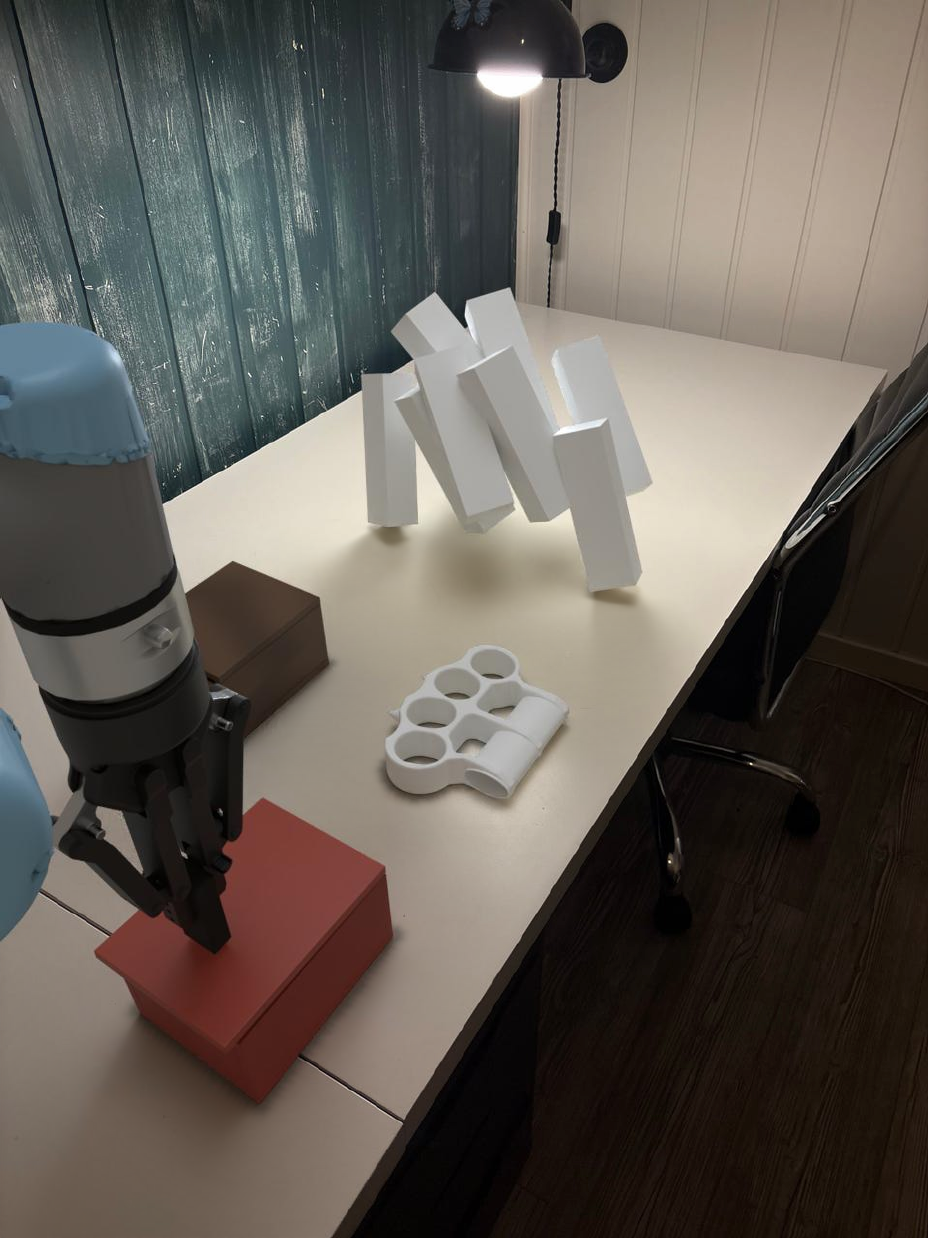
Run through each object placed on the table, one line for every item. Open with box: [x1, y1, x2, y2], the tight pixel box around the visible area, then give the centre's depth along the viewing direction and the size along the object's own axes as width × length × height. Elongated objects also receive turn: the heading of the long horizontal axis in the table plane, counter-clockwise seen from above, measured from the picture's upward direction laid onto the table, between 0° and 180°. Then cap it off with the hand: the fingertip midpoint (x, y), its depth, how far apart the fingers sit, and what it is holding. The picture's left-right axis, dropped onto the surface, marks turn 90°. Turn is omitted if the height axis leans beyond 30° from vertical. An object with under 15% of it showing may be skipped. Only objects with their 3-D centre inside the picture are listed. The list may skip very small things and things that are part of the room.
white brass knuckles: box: [384, 644, 570, 800], centre depth 85 cm, size 3×18×15 cm
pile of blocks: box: [360, 287, 654, 593], centre depth 107 cm, size 35×30×35 cm
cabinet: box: [185, 560, 330, 739], centre depth 89 cm, size 14×12×9 cm
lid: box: [93, 797, 387, 1054], centre depth 61 cm, size 16×12×1 cm
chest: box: [123, 872, 394, 1104], centre depth 65 cm, size 15×12×8 cm
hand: (207, 935), depth 59 cm, fingers closed
